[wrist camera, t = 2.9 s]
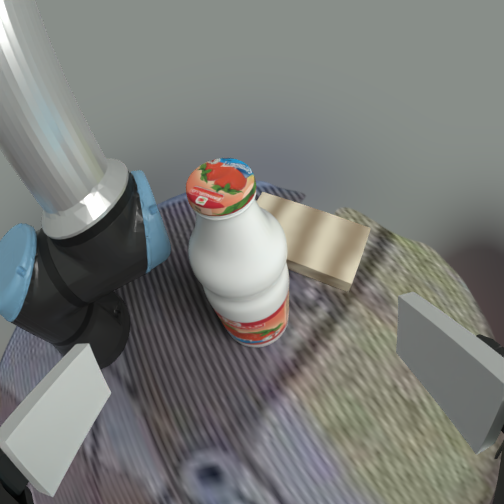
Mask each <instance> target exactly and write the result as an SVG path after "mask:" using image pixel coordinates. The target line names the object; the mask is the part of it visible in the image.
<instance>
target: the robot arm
mask: <svg viewBox="0 0 504 504" xmlns="http://www.w3.org/2000/svg"><path fill="white" fill-rule="evenodd" d="M0 150H1V151H2V153H3V154H4V156H5V157H6V159H7V160H8V162H9V163H10V165H11V166H12V168H13V169H14V171H15V172H16V173H17V175H18V176H19V177H20V179H21V181H22V182H23V183H24V185H25V186H26V187H27V189H28V190H29V191H30V193H31V194H32V195H33V197H34V198H35V199H36V201H37V202H38V203H39V204H40V206H41V207H42V208H43V211H42V219H41V225H42V228H41V229H40V230H38V231H35V229H34V228H33V227H32V226H30V225H27V224H22V223H21V224H17V225H16V226H14V227H13V228H11V229H10V230H9V231H8V232H7V233H6V234H5V235H4V237H3V238H2V239H1V241H0V315H2V316H3V317H4V318H5V319H6V320H7V321H9V322H11V323H13V324H15V325H17V326H18V327H20V328H22V329H24V330H26V331H28V332H30V333H31V334H33V335H35V336H37V337H39V338H41V339H43V340H45V341H47V342H50V343H51V344H53V345H54V346H55V347H56V349H57V350H58V351H59V352H60V353H61V354H62V355H63V358H62V359H61V360H60V361H59V362H58V363H57V364H56V365H55V366H54V368H53V369H52V370H51V371H50V372H49V373H48V374H47V375H46V376H45V377H44V378H43V379H42V380H41V381H40V383H39V384H38V385H37V386H36V387H35V388H34V389H33V390H32V391H31V392H30V393H29V395H28V396H27V397H26V398H25V399H24V400H23V401H22V402H21V404H20V405H19V406H18V407H17V408H16V409H15V410H14V412H13V413H12V414H11V415H10V416H9V417H8V419H7V420H6V421H5V422H4V423H3V424H2V426H1V427H0V504H34V503H33V498H32V493H31V491H30V489H29V488H28V487H27V486H26V485H27V483H28V482H30V483H31V484H32V485H33V486H34V487H35V488H36V489H37V490H38V491H39V492H41V493H44V494H46V495H49V496H52V497H53V496H54V494H55V493H56V491H57V489H58V487H59V485H60V483H61V481H62V479H63V477H64V475H65V473H66V472H67V470H68V468H69V466H70V464H71V462H72V460H73V459H74V457H75V455H76V453H77V451H78V450H79V448H80V446H81V444H82V442H83V441H84V439H85V437H86V435H87V434H88V432H89V430H90V428H91V427H92V425H93V423H94V421H95V420H96V418H97V416H98V414H99V413H100V411H101V409H102V408H103V406H104V404H105V403H106V401H107V399H108V397H109V396H110V394H111V392H110V390H109V387H108V385H107V383H106V381H105V379H104V377H103V375H102V373H101V370H100V369H102V368H105V367H107V366H108V365H110V364H111V363H112V362H114V361H115V360H116V359H117V358H118V356H119V355H120V354H121V352H122V351H123V349H124V347H125V345H126V342H127V340H128V336H129V331H130V317H129V312H128V309H127V307H126V305H125V303H124V301H123V300H122V299H121V298H120V297H119V296H118V295H117V294H116V293H115V292H114V290H116V289H118V288H120V287H122V286H123V285H125V284H127V283H129V282H131V281H133V280H135V279H137V278H138V277H140V276H142V275H144V274H147V273H149V272H150V270H151V269H153V268H154V267H156V266H158V265H159V264H161V263H162V262H164V261H165V260H166V259H167V258H168V257H169V255H170V252H171V245H170V241H169V238H168V235H167V232H166V229H165V226H164V223H163V220H162V218H161V215H160V213H159V210H158V209H157V205H156V202H155V199H154V196H153V194H152V191H151V188H150V186H149V183H148V181H147V178H146V176H145V174H144V172H143V171H141V170H137V171H132V172H131V173H129V171H128V169H127V167H126V166H125V165H124V163H123V162H121V161H119V160H116V159H109V158H105V156H104V154H103V152H102V150H101V148H100V147H99V145H98V143H97V141H96V139H95V137H94V135H93V133H92V131H91V129H90V127H89V125H88V123H87V121H86V119H85V117H84V115H83V113H82V111H81V109H80V107H79V105H78V103H77V101H76V99H75V96H74V94H73V92H72V90H71V88H70V86H69V83H68V81H67V79H66V77H65V75H64V72H63V70H62V68H61V65H60V63H59V61H58V58H57V56H56V54H55V51H54V49H53V46H52V44H51V41H50V39H49V36H48V34H47V31H46V28H45V26H44V23H43V20H42V18H41V15H40V12H39V9H38V6H37V3H36V0H0ZM396 353H397V354H398V355H399V356H400V358H401V359H402V360H403V361H404V362H405V364H406V365H407V366H408V367H409V369H410V370H411V371H412V372H413V373H414V375H415V376H416V377H417V378H418V380H419V381H420V382H421V383H422V384H423V386H424V387H425V388H426V389H427V391H428V392H429V393H430V394H431V396H432V397H433V398H434V400H435V401H436V402H437V403H438V405H439V406H440V407H441V408H442V410H443V411H444V412H445V414H446V415H447V416H448V417H449V419H450V420H451V421H452V423H453V424H454V425H455V427H456V428H457V429H458V431H459V432H460V433H461V435H462V436H463V437H464V439H465V440H466V441H467V443H468V444H469V445H470V447H471V448H472V449H473V451H474V452H475V453H476V455H477V454H479V453H481V452H482V451H484V450H485V449H487V448H488V447H490V446H491V445H493V444H494V443H495V441H496V440H497V438H498V436H499V434H500V432H501V431H502V432H503V433H504V348H503V347H501V345H500V344H498V343H497V342H495V341H494V340H493V339H491V338H488V337H485V336H483V335H480V334H479V335H477V336H475V335H474V334H472V333H471V332H470V331H468V330H467V329H466V328H464V327H463V326H462V325H460V324H459V323H457V322H456V321H455V320H453V319H452V318H451V317H449V316H448V315H446V314H445V313H444V312H442V311H441V310H439V309H438V308H437V307H435V306H434V305H432V304H431V303H429V302H428V301H427V300H425V299H424V298H422V297H421V296H419V295H418V294H417V293H415V292H411V293H407V294H403V295H399V296H398V332H397V349H396ZM501 451H502V455H501V463H500V469H499V475H498V481H497V486H496V491H495V496H494V500H493V504H504V441H503V442H502V444H501V446H500V448H499V449H498V451H497V453H496V455H495V458H494V459H497V458H498V456H499V455H500V453H501Z"/></svg>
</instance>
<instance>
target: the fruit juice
mask: <svg viewBox="0 0 504 504" xmlns="http://www.w3.org/2000/svg"><path fill="white" fill-rule="evenodd" d="M186 194H187V198H188V201H189V204H190V205H191V207H192V209H193V210H194V211H195V212H196V224H195V228H194V230H193V232H192V234H191V237H190V241H189V247H188V254H189V261H190V264H191V267H192V270H193V272H194V274H195V276H196V277H197V279H198V280H199V281H200V283H201V284H202V285H203V289H204V292H205V294H206V296H207V299H208V301H209V302H210V304H211V306H212V307H213V309H214V310H215V312H216V313H217V315H218V317H219V318H220V320H221V322H222V323H223V325H224V326H225V328H226V329H227V331H228V333H229V334H230V335H231V337H232V338H233V339H235V340H236V341H237V342H239V343H240V344H242V345H245V346H248V347H263V346H267V345H269V344H271V343H273V342H275V341H276V340H277V339H279V338H280V336H281V335H282V334H283V333H284V331H285V329H286V327H287V324H288V319H289V272H288V267H287V263H286V260H287V253H288V249H287V241H286V236H285V233H284V231H283V228H282V226H281V225H280V223H279V222H278V220H277V219H276V218H275V217H274V216H273V215H272V214H271V213H269V212H268V211H266V210H265V209H263V208H261V207H259V205H258V203H257V202H256V200H255V195H256V181H255V177H254V175H253V172H252V170H251V169H250V167H249V166H248V165H246V164H245V163H244V162H242V161H240V160H237V159H232V158H220V159H215V160H211V161H209V162H206V163H204V164H202V165H201V166H199V167H198V168H197V169H195V170H194V171H193V172H192V173H191V175H190V176H189V178H188V180H187V183H186Z"/></svg>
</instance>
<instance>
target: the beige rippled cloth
mask: <svg viewBox="0 0 504 504" xmlns="http://www.w3.org/2000/svg"><path fill="white" fill-rule="evenodd" d="M256 202H257V203H258V205H259V207H261V208H263V209H265V210H266V211H268V212H269V213H271V214H272V215H273V216H274V217H275V218H276V219H277V220H278V222H279V223H280V225H281V226H282V228H283V231H284V233H285V236H286V241H287V249H288V253H287V260H286V263H287V267H288V269H289V270H292V271H294V272H297V273H299V274H302V275H305V276H307V277H310V278H312V279H315V280H317V281H320V282H323V283H325V284H328V285H330V286H333V287H335V288H338V289H341V290H343V291H346V292H349V289H350V287H351V284H352V282H353V279H354V276H355V274H356V271H357V268H358V265H359V262H360V259H361V256H362V253H363V251H364V248H365V245H366V241H367V238H368V235H369V232H370V229H371V228H369V227H366V226H363V225H360V224H358V223H355V222H352V221H349V220H346V219H344V218H341V217H338V216H335V215H332V214H329V213H326V212H323V211H320V210H317V209H314V208H311V207H308V206H305V205H302V204H299V203H296V202H293V201H290V200H287V199H284V198H280V197H277V196H274V195H271V194H267V193H264V192H262V194H261V195H260V197H259V198H258V200H257V201H256Z"/></svg>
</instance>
